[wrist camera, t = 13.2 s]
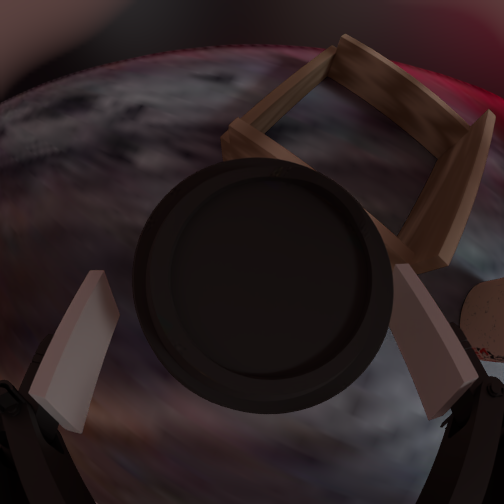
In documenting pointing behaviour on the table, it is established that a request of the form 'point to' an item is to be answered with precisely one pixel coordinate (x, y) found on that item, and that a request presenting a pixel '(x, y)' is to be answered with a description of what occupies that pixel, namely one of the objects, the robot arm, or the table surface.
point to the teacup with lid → (485, 320)
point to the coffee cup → (262, 285)
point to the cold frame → (408, 118)
